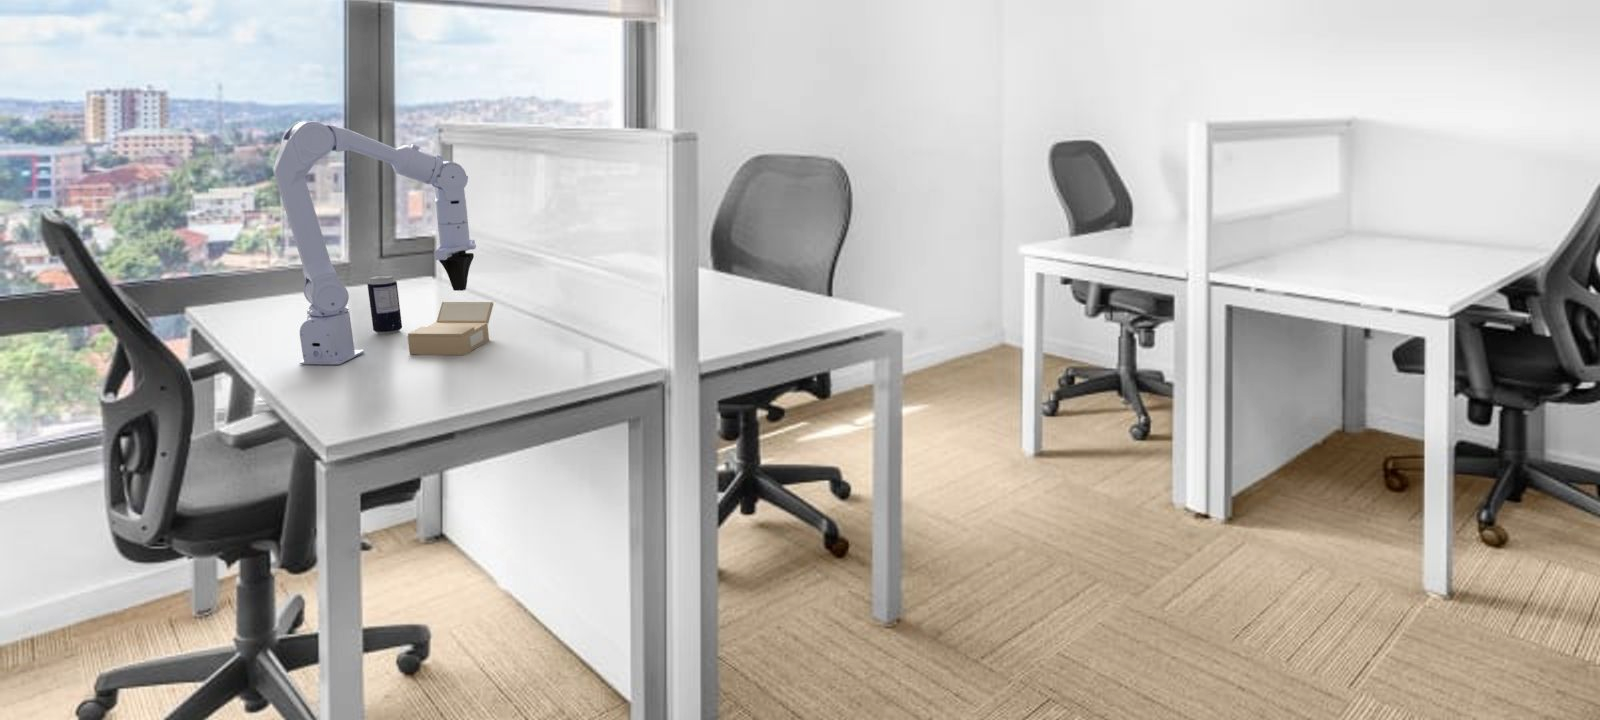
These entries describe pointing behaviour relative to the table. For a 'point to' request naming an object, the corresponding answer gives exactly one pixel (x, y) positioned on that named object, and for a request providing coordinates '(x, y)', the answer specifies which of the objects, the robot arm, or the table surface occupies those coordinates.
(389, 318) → the beverage can
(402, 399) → the table surface
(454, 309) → the flap
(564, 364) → the table surface
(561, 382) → the table surface
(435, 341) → the carton
